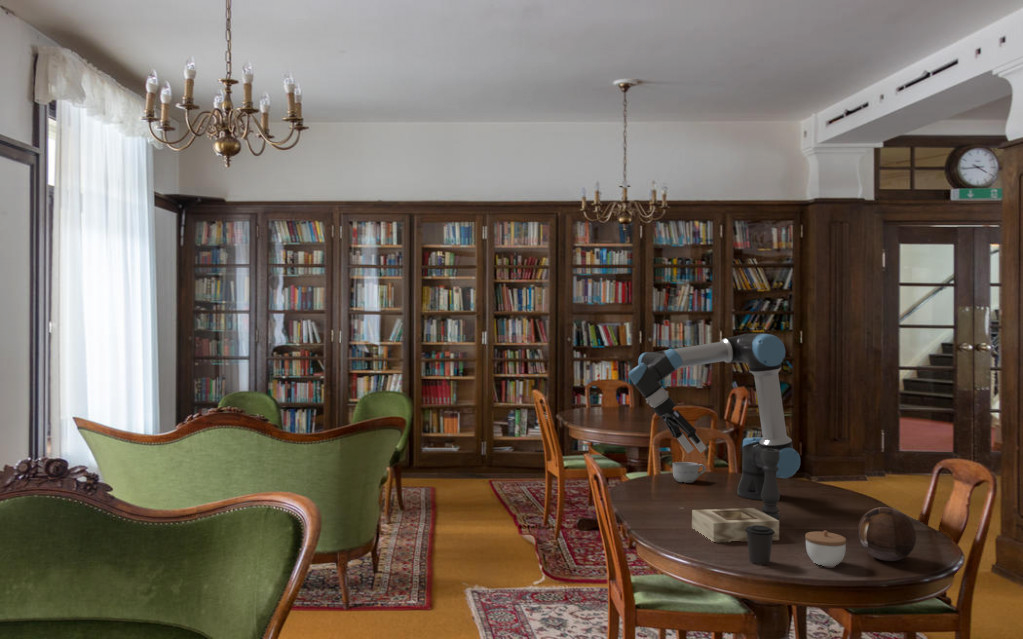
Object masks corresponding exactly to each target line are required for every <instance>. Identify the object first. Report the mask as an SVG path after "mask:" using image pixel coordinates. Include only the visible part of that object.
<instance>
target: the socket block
mask: <svg viewBox="0 0 1023 639" xmlns="http://www.w3.org/2000/svg"><path fill="white" fill-rule="evenodd" d="M754 525H760V526H765V527H768V528H771V529H773V530H774V532H775V533H774V534H773V538H772V541H779V540H780V519H779V520H777V519H775V518H773V517H771V516H769V515H767V514H765V513H763V512H762V510H758V509H757V508H755V507H747V508H746V507H743V508H738V507H737V508H714V509H710V508H709V509H692V510H691V529H693V530H694V529H695V530H694V531H696V532H697V531H698V532H699V534H700V533H701V534H702V536H703V535H704V536H705V537H704V536H703V537H704V538H706V537H707V538H708V539H707V538H706V539H707V540H709V539H710V540H711V541H710V540H709V541H710V542H712V541H713V542H716V543H730V542H731V541H741V542H748V540H747V532H746V531H745V529H746V527H748V526H754ZM698 532H697V533H698ZM701 534H700V535H701ZM727 541H728V542H727ZM713 542H712V543H713ZM731 543H732V542H731Z"/></svg>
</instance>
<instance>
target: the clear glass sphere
mask: <svg viewBox="0 0 1023 639" xmlns="http://www.w3.org/2000/svg"><path fill="white" fill-rule="evenodd" d="M857 536H858V540H859V542H860V544H861V546H862V547H863V549H864V550H865V551H866V552H867V553H868V554H870V555H871V556H872V557H874V558H876V559H878V560H880V561H886V562H897V561H899V560H903V559H905V558H906V557H908V555H910V554H911V552H913V549H914V548H915V546H916V540H917V534H916V530H915V526H914V525H913V523H912V522H911V520H910V519H909V518H908V517H907V515H906V514H904V513H903V512H901V511H899V510H898V509H894V508H891V507H888V506H887V507H886V506H882V507H881V506H880V507H875V508H872V509H870V510H868V511H866V512H865V513H864V514H863V515H862V516H861V518H860V520H859V521H858V526H857Z"/></svg>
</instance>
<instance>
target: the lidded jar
mask: <svg viewBox="0 0 1023 639" xmlns="http://www.w3.org/2000/svg"><path fill="white" fill-rule="evenodd" d="M804 536H805V537H804V538H805V550H806V553H807V555H808V557H809V558H810V560H811V561H812V562H813V564H814V563H816V564H818V565H822V566H836V565H837V566H838V565H839V564H840V563H841V562H842V561H843V559H844V558H845V555H846V548H847V546H846V544H847V538H846V537H844V536H843V535H841V534H838V533H834V532H828V530H823V531H809V532H806V533H805V535H804ZM816 564H815V565H816ZM818 565H817V566H818ZM822 566H821V567H822ZM837 566H836V567H837Z"/></svg>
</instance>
